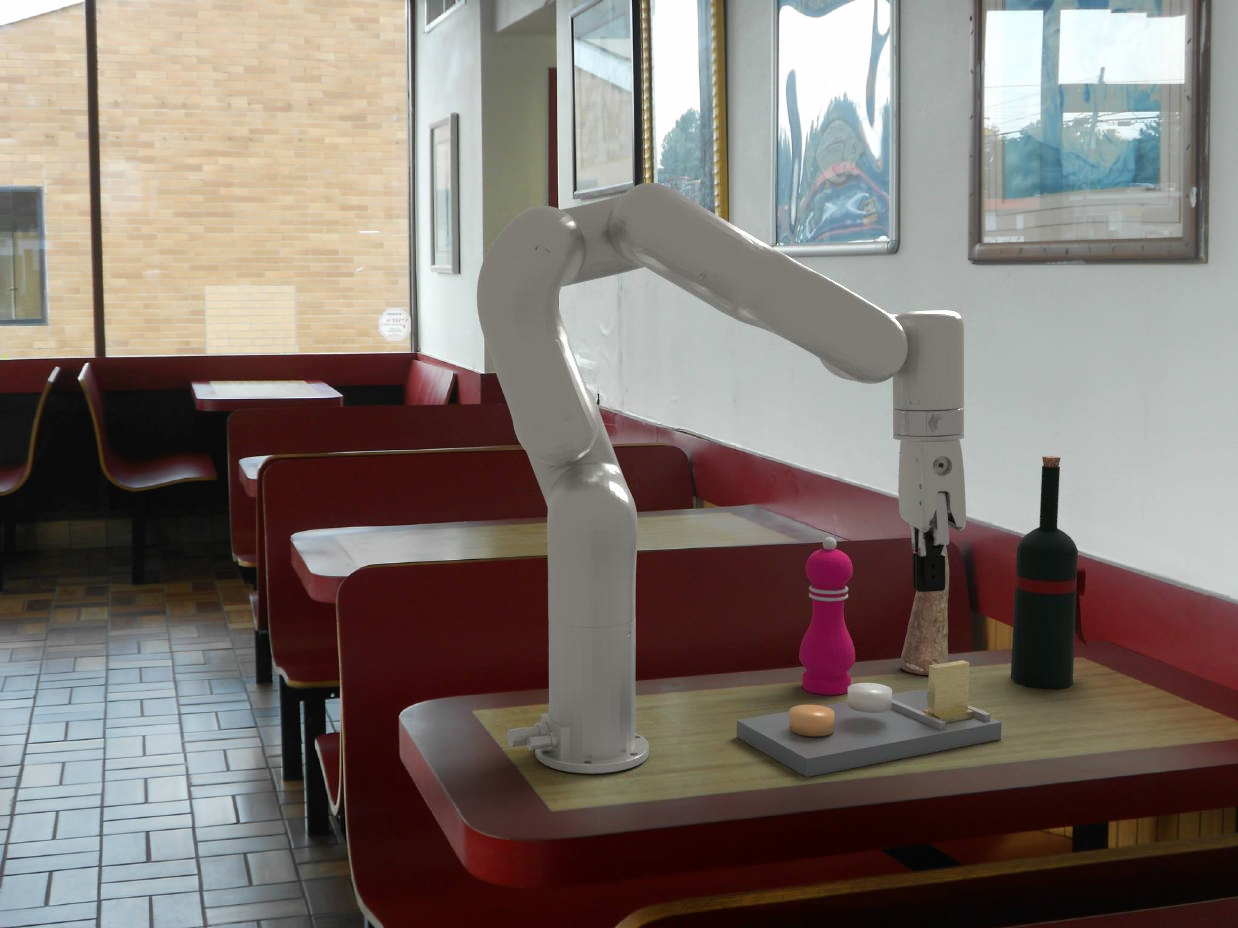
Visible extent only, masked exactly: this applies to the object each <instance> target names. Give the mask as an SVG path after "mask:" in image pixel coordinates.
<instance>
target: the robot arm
mask: <svg viewBox="0 0 1238 928" xmlns="http://www.w3.org/2000/svg"><path fill="white" fill-rule="evenodd" d="M643 268H646V269H648V270H649V271H651V272H653V273H654V274H656V275H658V276H659V277H661V278H663V279H665V280H666V281H668V282H670V283H672V284H673V285H674V286H677V287H679V288H680V289H682V290H684V291H685V292H687V293H689V294H690V295H692V296H694V297H695V298H697V299H699V300H701V301H702V302H704V303H706V304H708V305H709V306H710V307H713V308H714V309H716V310H717V311H718V312H721V313H723V314H725V315H726V316H729V317H730V318H733V319H734V320H736V321H738V322H740V323H744V324H746V325H750V326H753V327H756V328H759V329H761V330H765V331H767V332H770V333H772V334H774V335H777V336H779V337H780V338H782V339H784V340H786V341H789V342H790V343H792V344H794V345H796V346H798V347H800V348H802V349H803V350H804V351H807V353H808V352H809V353H810V354H811V355H814V356H815V357H817V358H818V359H819V360H820V362H821V364H822V365H823V366H824V368H825V369H826V370H827V371H829V372H830V373H831V374H832V375H834V376H836V377H838V378H841V379H844V380H848V381H853V382H857V383H861V384H866V385H873V384H876V385H877V384H879V383H884V382H886V381H888V380H890V379H892V435H893V436H892V439H894V440H897V441H900V445H899V452H898V453H899V455H898V457H899V459H898V487H897V488H898V490H897V491H898V510H899V515H900V518H901V519H902V520H903V521H904V522H906V523H908V524H909V528H910V532H911V549H912V552H913V553H912V555H911V556H912V565H911V566H912V588H913V589H914V590H917V591H918V592H933V591H944V590H945V555H946V548H947V545H950V530H949V527H950V528H951V529H953V530H955V531H963V530H965V528H966V525H967V505H966V484H965V471H964V468H965V467H964V457H963V452H962V451H963V449H962V444H961V440H963V439H964V438H965V413H964V412H965V408H964V407H965V328H964V327H965V326H964V325H965V324H964V321H963V317H962V316H961V315H960V314H959V313H958V312H956V311H953V310H914V311H905V312H902V313H899V314H890V313H887V312H886V311H885V310H883V309H881V308H880V307H878V306H876V305H875V304H873V303H871V302H870V301H868V300H866V299H864V298H863V297H862V296H860V295H858V294H857V293H855V292H853V291H852V290H849V289H848V288H846V287H844V286H843V285H841V284H839V283H837V282H835V281H834V280H832V279H830V278H828V277H827V276H824V275H823V274H821V273H819V272H817V271H815V270H814V269H811V268H809V267H807V266H806V265H803V263H800V262H798V261H797V260H795V259H793V258H792V257H790V256H788V255H787V254H785V253H783V252H782V251H779V250H777V249H776V248H774V247H772V246H770V245H768V244H767V243H765V242H763V241H761V240H760V239H757V238H756V237H754V236H752V235H751V234H749V233H748V232H746V231H744V230H742V229H740V228H739V227H737V226H735V225H734V224H732V223H730V221H728V220H726V219H724V218H722V217H721V216H719V215H717V214H715V213H714V212H713V211H710V210H708V209H707V208H705V207H704V206H702V205H700V204H698V203H697V202H695V201H693V200H692V199H690V198H689V197H687V196H685V194H682V193H680V192H679V191H677V190H675V189H673V188H671V187H669V186H666V185H664V184H661V183H658V182H643V183H640V184H637V185H635V186H633V187H631V188H629V189H628V190H626V191H625V192H624V194H621V195H617V196H614V197H611V198H607V199H603V200H597V201H595V202H591V203H586V204H581V205H577V206H571V207H568V208H562V209H560V208H558V207H554V206H550V205H537V206H532V207H529V208H527V209H525V210H523V211H521V212H520V213H518V214H516V216H515V217H512V219H511V220H510V221H508V223H507V224H506V225H505V226H504V227H503V229H501V231H499V234H497V236H496V238H495V239H494V240H493V242H492V244H491V245H490V246H489V249H488V250H487V251H486V254H485V256H484V258H483V261H482V264H481V267H480V270H479V275H478V280H477V286H476V306H477V307H476V308H477V314H478V320H479V324H480V328H481V332H482V335H483V339H484V342H485V344H486V348H487V350H488V354H489V355H490V358H491V362H492V364H493V367H494V371H495V373H496V377H497V380H498V382H499V385H500V388H501V389H502V394H503V395H504V398H505V401H506V403H507V407H508V409H509V412H510V415H511V419H512V425H513V429H514V433H515V436H516V438H517V440H518V442H519V444H520V445H521V447H522V449H523V450H524V451H525V452H526V454H527V457H528V459H529V462H530V465H531V467H532V470H533V472H534V475H535V478H536V480H537V484H538V485H539V488H540V491H541V494H542V495H543V498H544V501H545V504H546V506H547V518H546V519H547V521H546V522H547V523H546V535H547V539H546V540H547V578H548V579H547V592H548V593H547V597H548V598H547V600H548V601H547V603H548V604H547V607H548V610H547V611H548V613H547V614H548V615H547V616H548V712H544V713H541V714H540V722H535V723H533V726H530V727H529V726H528V727H517V728H511V729H508V730H507V733H506V740H507V744H508V746H509V747H510V748H515V747H520V746H526V747H527V749H528V750H529V751H534V752H535V757H536V758H537V760H538V762H540V763H541V764H543V765H545V766H547V767H549V768H551V769H554V770H558V771H563V772H566V773H567V772H568V773H575V774H592V775H593V774H608V773H615V772H621V771H624V770H629V769H632V768H634V767H637V766H639V765H640V764H643V763H644V762H645V761H646V760H647V758H649V755H650V744H649V742H648V740H647V739H646V738H645V737H644V736H642V735H640V734H638V733H637V732H636V634H637V632H636V631H637V630H636V622H637V621H636V618H637V617H636V585H637V584H636V580H637V579H636V578H637V577H636V576H637V575H636V574H637V555H638V553H637V551H638V538H639V537H638V535H639V530H638V529H639V527H638V526H639V523H638V513H637V507H636V502H635V500H634V497H633V496H632V495H633V494H632V493H631V491H630V489H629V487H628V484H627V482H626V479H625V477H624V474H623V471H622V468H621V467H620V464H619V463H620V462H619V460H618V458H617V455H616V453H615V450H614V447H613V444H612V442H611V439H610V436H609V434H608V431H607V428H606V426H605V422H604V421H603V418H602V415H601V412H600V409H599V406H598V402H597V401H596V398H595V396H594V394H593V392H592V391H591V390H590V389H589V387H588V386H587V384H586V382H585V379H584V377H583V375H582V372H581V370H580V367H579V364H578V362H577V359H576V357H575V354H574V351H573V349H572V346H571V342H570V338H569V335H568V333H567V330H566V327H565V324H564V322H563V319H562V315H561V312H560V311H561V310H560V305H559V303H560V299H559V298H560V292H561V289H562V288H564V287H567V286H571V285H575V284H580V283H585V282H590V281H594V280H597V279H602V278H608V277H611V276H615V275H620V274H623V273H629V272H632V271H636V270H639V269H640V270H641V269H643Z"/></svg>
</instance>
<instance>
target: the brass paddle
mask: <svg viewBox="0 0 1238 928" xmlns="http://www.w3.org/2000/svg"><path fill="white" fill-rule="evenodd" d="M970 666H971V663H970V662H969V661H966V660H963V659H962V660H961V659H960V660H956V661H949V662H948V663H942V664H935V665H929V675H928V686H927V687H928V688H927V692H928V709H925V710H922V712H924V713H926V714H928V715H930V716H933V717H935V718H937V719H940V720H942V721H944V722H946V723H949V722H954V721H959V720H965V719H970V718H973V711H972V710H969V709H968V705H969V693H970V671H971V670H970V669H971V668H970Z"/></svg>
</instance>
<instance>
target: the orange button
mask: <svg viewBox="0 0 1238 928" xmlns="http://www.w3.org/2000/svg"><path fill="white" fill-rule="evenodd" d="M824 706H825V705H818V704H799V705H795V706H792V707H790V709H789V711H788V712H789V729H790V730H791V731H792V732H794V733H796V734H800V735H805V736H825V735H829V734H831V733H833V732H834V715H835V713H834V711H833V710H832V709H830V708H828V707H824Z"/></svg>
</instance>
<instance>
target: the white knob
mask: <svg viewBox="0 0 1238 928" xmlns="http://www.w3.org/2000/svg"><path fill="white" fill-rule="evenodd" d="M892 694H893V689H892V688H891V687H890V686H888V685H886V684H885V685H884V684H881V683H875V682H858V683H853V684H852V683H851V685H850V686H848V692H847V701H846V702H847V705H848V707H849V708H851V709H853V710H856V711H859V712H866V713H882V712H886V711H889V710H891V708H892Z"/></svg>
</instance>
